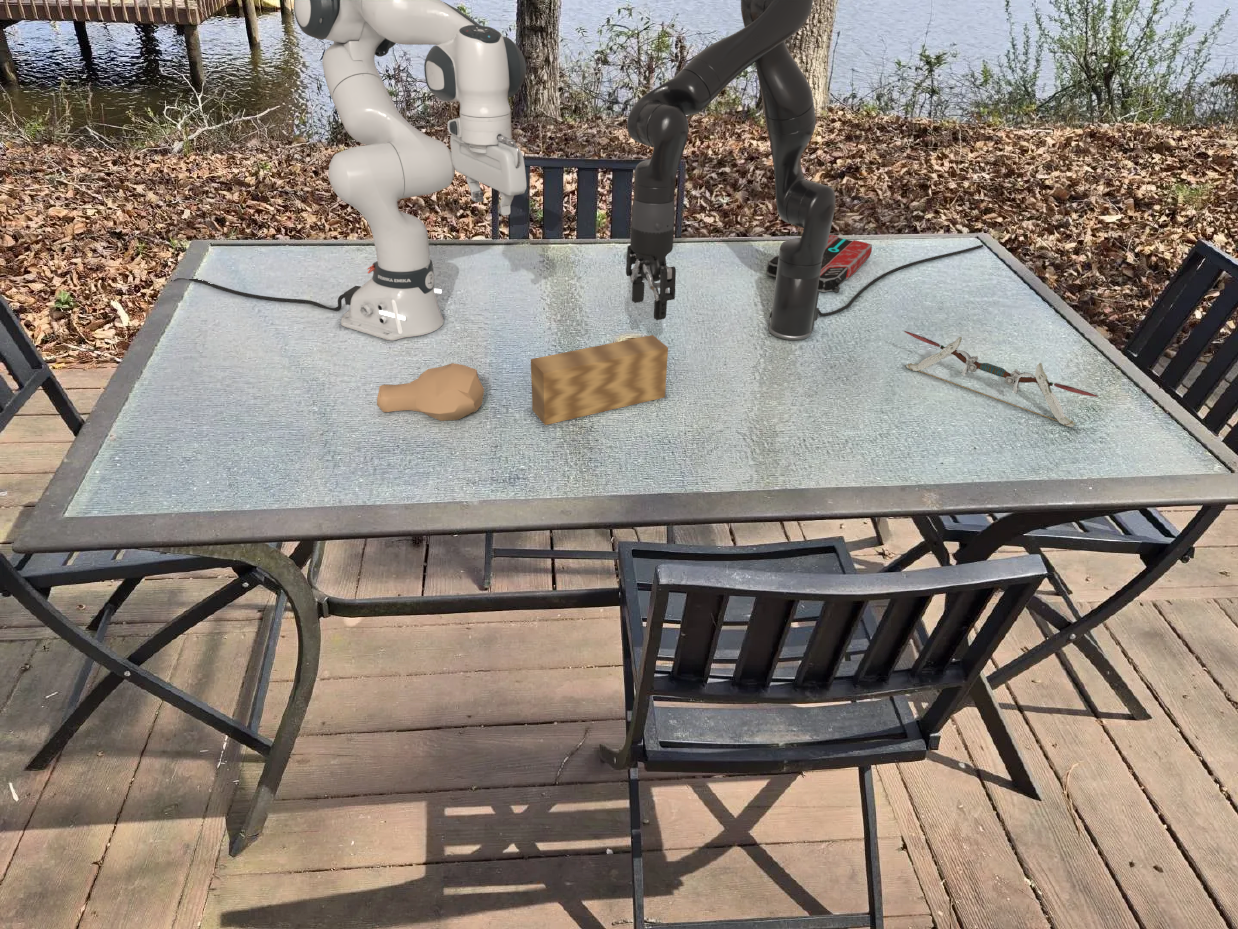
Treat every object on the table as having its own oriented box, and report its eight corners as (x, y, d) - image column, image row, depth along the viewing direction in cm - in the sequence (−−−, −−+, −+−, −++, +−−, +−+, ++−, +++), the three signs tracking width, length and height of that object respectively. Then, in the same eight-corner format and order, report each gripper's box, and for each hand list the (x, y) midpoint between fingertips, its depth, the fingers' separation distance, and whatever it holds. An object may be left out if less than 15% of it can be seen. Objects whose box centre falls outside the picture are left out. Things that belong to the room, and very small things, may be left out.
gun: (763, 262, 220) (837, 280, 212) (808, 226, 242) (876, 242, 234) (761, 279, 222) (834, 298, 214) (805, 242, 244) (873, 258, 236)
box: (544, 425, 161) (543, 373, 155) (532, 410, 165) (530, 359, 159) (665, 397, 171) (668, 347, 165) (650, 383, 175) (652, 334, 169)
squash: (485, 427, 160) (474, 388, 154) (378, 435, 161) (363, 397, 155) (491, 389, 168) (481, 351, 162) (390, 398, 169) (376, 360, 163)
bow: (1087, 429, 164) (1105, 382, 158) (1083, 433, 163) (1101, 385, 157) (899, 362, 185) (909, 318, 180) (895, 365, 184) (904, 321, 179)
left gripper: (534, 139, 149) (536, 219, 157) (472, 116, 162) (477, 191, 170) (502, 144, 146) (506, 225, 154) (442, 120, 159) (448, 196, 167)
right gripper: (692, 233, 149) (685, 321, 158) (652, 209, 160) (647, 293, 169) (653, 239, 146) (648, 328, 155) (615, 214, 157) (613, 299, 166)
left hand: (490, 207), depth 162 cm, fingers open, 8 cm apart
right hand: (648, 310), depth 162 cm, fingers open, 8 cm apart
